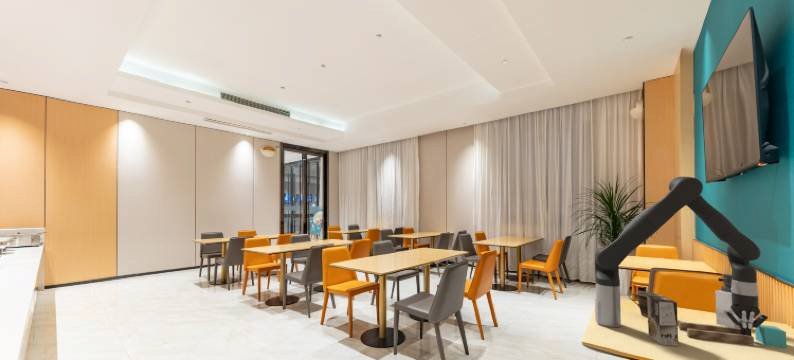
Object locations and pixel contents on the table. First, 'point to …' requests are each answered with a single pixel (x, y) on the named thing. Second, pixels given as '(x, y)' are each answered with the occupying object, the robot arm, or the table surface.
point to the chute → (716, 333)
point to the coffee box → (662, 320)
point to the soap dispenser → (724, 302)
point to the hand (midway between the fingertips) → (746, 337)
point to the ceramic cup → (643, 301)
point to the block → (771, 336)
